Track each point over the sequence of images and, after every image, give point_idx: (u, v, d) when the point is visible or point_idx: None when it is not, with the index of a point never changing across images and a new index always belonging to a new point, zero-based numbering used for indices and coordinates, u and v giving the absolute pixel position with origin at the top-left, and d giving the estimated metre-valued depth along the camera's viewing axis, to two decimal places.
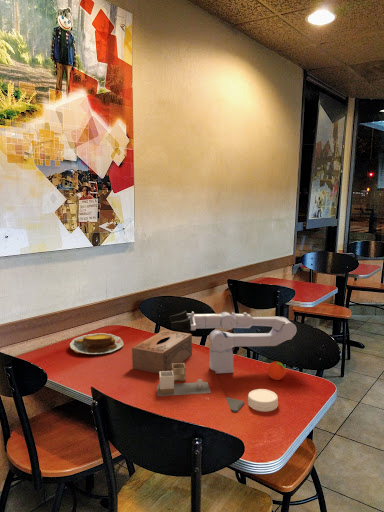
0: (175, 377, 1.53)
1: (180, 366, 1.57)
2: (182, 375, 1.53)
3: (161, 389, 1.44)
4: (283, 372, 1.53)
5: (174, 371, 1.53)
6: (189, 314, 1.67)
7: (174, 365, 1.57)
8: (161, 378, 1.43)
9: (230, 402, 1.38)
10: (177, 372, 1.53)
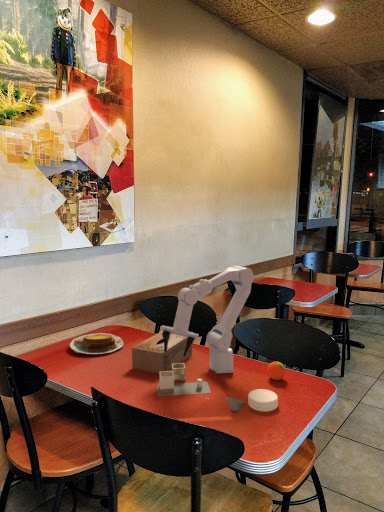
0: (175, 377, 1.53)
1: (180, 366, 1.57)
2: (182, 375, 1.53)
3: (161, 389, 1.44)
4: (283, 372, 1.53)
5: (174, 371, 1.53)
6: (164, 329, 1.55)
7: (174, 365, 1.57)
8: (161, 378, 1.43)
9: (230, 402, 1.37)
10: (177, 372, 1.53)
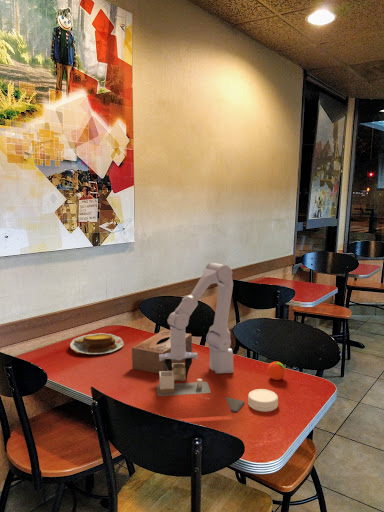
0: (175, 377, 1.53)
1: (180, 366, 1.57)
2: (182, 375, 1.53)
3: (161, 389, 1.44)
4: (283, 372, 1.53)
5: (174, 371, 1.53)
6: (162, 358, 1.53)
7: (174, 365, 1.57)
8: (161, 378, 1.43)
9: (230, 402, 1.37)
10: (177, 372, 1.53)
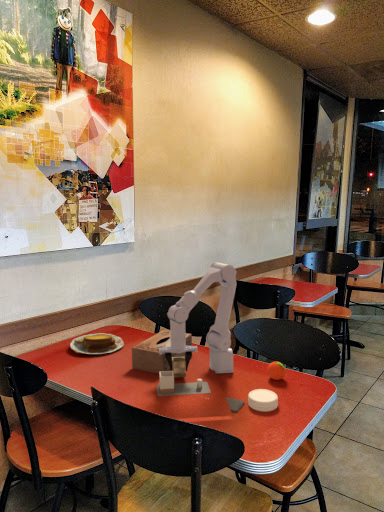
0: (175, 371, 1.53)
1: (180, 360, 1.57)
2: (182, 369, 1.53)
3: (161, 389, 1.44)
4: (283, 372, 1.53)
5: (174, 364, 1.52)
6: (162, 351, 1.53)
7: (174, 359, 1.57)
8: (161, 378, 1.43)
9: (230, 402, 1.37)
10: (177, 366, 1.53)
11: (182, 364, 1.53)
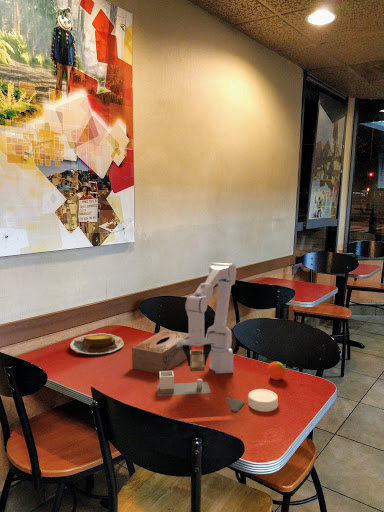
0: (193, 364, 1.45)
1: (198, 353, 1.49)
2: (201, 362, 1.45)
3: (161, 389, 1.44)
4: (283, 372, 1.53)
5: (192, 358, 1.44)
6: (180, 344, 1.45)
7: (192, 352, 1.49)
8: (161, 378, 1.43)
9: (230, 402, 1.37)
10: (195, 359, 1.45)
11: (201, 357, 1.45)
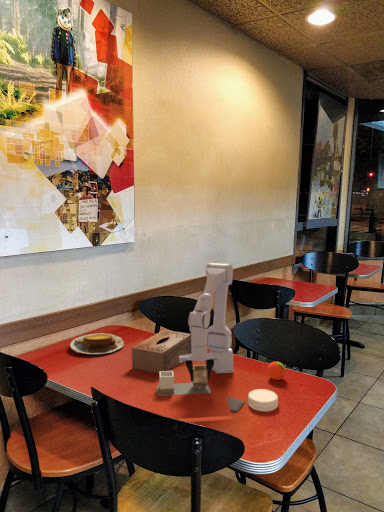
0: (196, 380, 1.44)
1: (201, 368, 1.49)
2: (204, 378, 1.45)
3: (161, 389, 1.44)
4: (283, 372, 1.53)
5: (195, 373, 1.44)
6: (183, 359, 1.45)
7: (195, 367, 1.49)
8: (161, 378, 1.43)
9: (230, 402, 1.37)
10: (198, 374, 1.44)
11: (203, 373, 1.44)
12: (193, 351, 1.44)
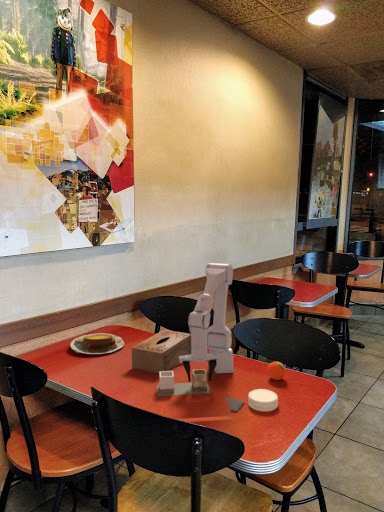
0: (196, 384, 1.45)
1: (201, 372, 1.49)
2: (203, 382, 1.45)
3: (161, 389, 1.44)
4: (283, 372, 1.53)
5: (195, 377, 1.44)
6: (183, 360, 1.45)
7: (195, 371, 1.49)
8: (161, 378, 1.43)
9: (230, 402, 1.37)
10: (198, 379, 1.45)
11: (203, 377, 1.45)
12: (193, 351, 1.44)
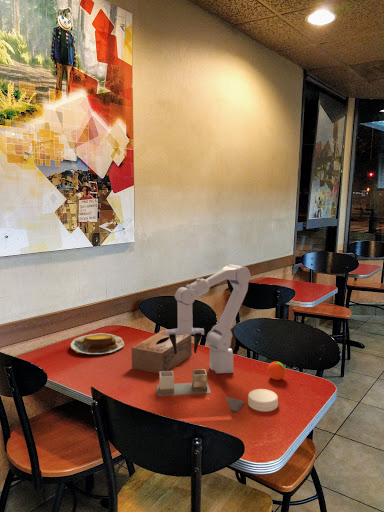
0: (196, 384, 1.45)
1: (201, 372, 1.49)
2: (203, 382, 1.45)
3: (161, 389, 1.44)
4: (283, 372, 1.53)
5: (195, 377, 1.44)
6: (169, 333, 1.54)
7: (195, 371, 1.49)
8: (161, 378, 1.43)
9: (230, 402, 1.37)
10: (198, 379, 1.45)
11: (203, 377, 1.45)
12: (179, 325, 1.53)
